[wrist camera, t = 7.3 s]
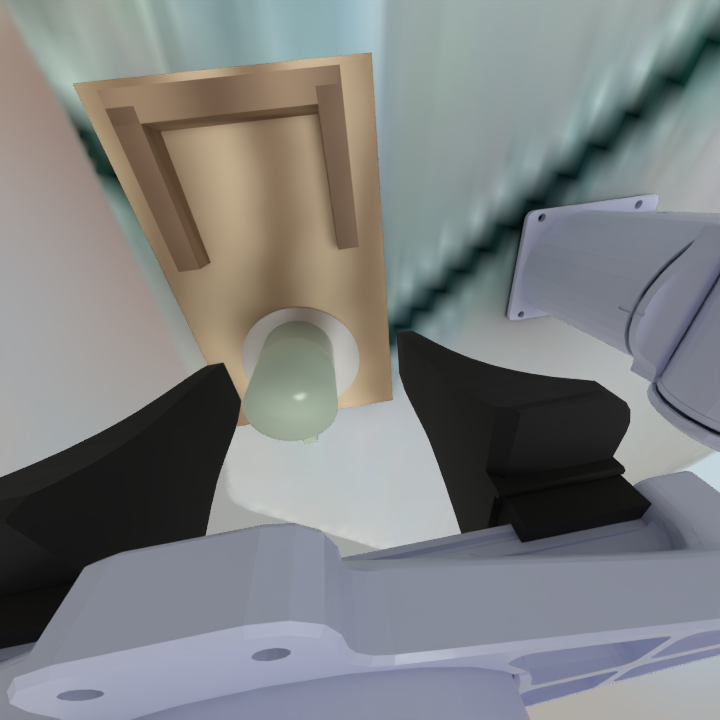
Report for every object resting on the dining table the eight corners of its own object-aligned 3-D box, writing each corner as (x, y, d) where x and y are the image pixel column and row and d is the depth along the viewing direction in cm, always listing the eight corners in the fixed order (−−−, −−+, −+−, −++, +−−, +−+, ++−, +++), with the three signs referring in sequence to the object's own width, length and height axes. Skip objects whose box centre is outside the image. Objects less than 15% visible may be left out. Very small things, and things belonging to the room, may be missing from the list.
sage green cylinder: (327, 316, 20) (330, 362, 14) (342, 400, 24) (348, 461, 18) (254, 326, 19) (228, 377, 14) (282, 410, 23) (270, 475, 18)
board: (368, 59, 14) (378, 33, 12) (390, 394, 25) (397, 413, 23) (85, 89, 13) (37, 67, 11) (239, 419, 25) (231, 441, 23)
